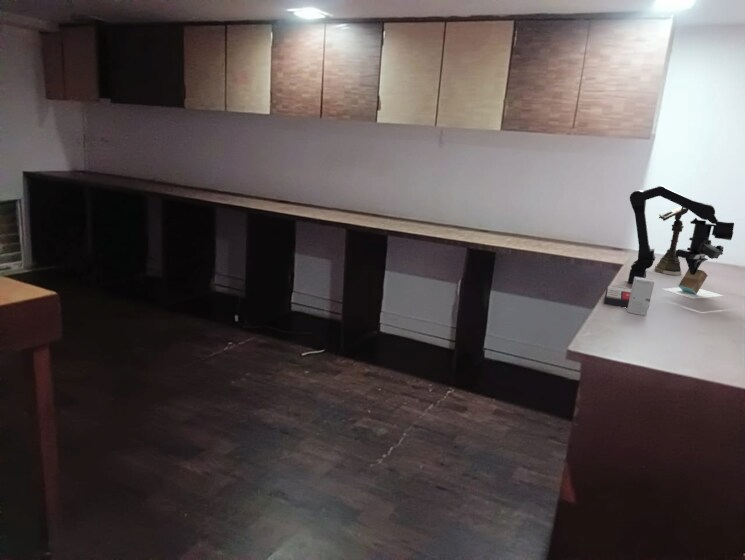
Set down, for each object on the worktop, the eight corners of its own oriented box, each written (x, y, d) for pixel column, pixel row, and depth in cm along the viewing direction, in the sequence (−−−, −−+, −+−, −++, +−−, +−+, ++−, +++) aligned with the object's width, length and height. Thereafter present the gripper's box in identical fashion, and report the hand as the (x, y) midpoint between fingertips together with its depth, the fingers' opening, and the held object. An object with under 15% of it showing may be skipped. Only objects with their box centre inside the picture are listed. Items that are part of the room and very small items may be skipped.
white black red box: (605, 295, 203) (607, 284, 217) (603, 306, 205) (604, 295, 218) (638, 300, 199) (638, 289, 213) (636, 312, 201) (636, 300, 214)
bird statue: (644, 271, 266) (659, 196, 257) (642, 266, 278) (657, 194, 269) (683, 277, 261) (700, 201, 252) (679, 271, 273) (696, 198, 264)
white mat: (692, 299, 221) (692, 298, 221) (660, 289, 233) (661, 288, 233) (724, 296, 230) (724, 295, 230) (692, 287, 242) (692, 286, 242)
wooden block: (691, 290, 226) (703, 270, 226) (678, 286, 231) (689, 267, 231) (696, 294, 228) (707, 275, 228) (682, 290, 233) (693, 271, 233)
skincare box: (628, 313, 196) (635, 279, 193) (626, 309, 200) (633, 276, 197) (647, 316, 194) (654, 281, 191) (645, 312, 198) (652, 278, 195)
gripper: (705, 240, 213) (695, 280, 217) (735, 240, 221) (726, 278, 225) (678, 235, 222) (669, 273, 226) (708, 234, 231) (699, 271, 235)
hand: (692, 274), depth 228 cm, fingers closed
